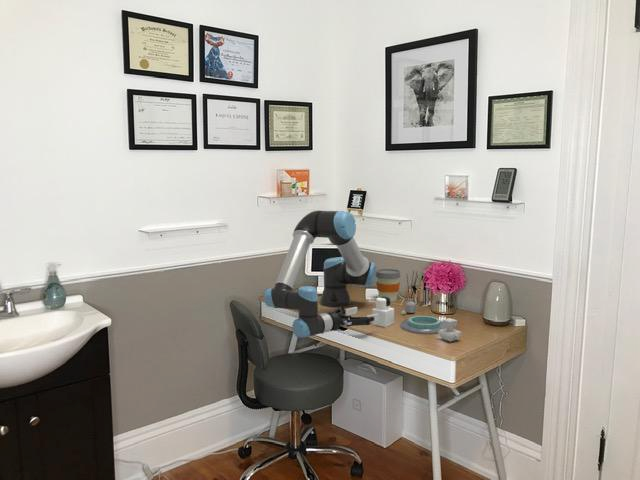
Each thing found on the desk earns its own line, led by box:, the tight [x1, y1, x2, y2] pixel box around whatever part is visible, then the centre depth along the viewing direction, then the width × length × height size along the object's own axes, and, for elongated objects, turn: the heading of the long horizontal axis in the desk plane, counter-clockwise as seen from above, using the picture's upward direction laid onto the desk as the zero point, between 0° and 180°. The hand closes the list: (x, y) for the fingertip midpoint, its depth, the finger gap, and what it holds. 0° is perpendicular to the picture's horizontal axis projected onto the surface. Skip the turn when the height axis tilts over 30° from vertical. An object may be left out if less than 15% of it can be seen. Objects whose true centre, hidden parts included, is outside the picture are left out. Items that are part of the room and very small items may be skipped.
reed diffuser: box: [400, 270, 419, 316], centre depth 252 cm, size 10×7×20 cm
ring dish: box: [400, 315, 447, 335], centre depth 232 cm, size 20×20×3 cm
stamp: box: [437, 317, 463, 342], centre depth 215 cm, size 9×7×8 cm
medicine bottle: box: [371, 296, 395, 328], centre depth 236 cm, size 7×7×12 cm
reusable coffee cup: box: [375, 268, 401, 303], centre depth 279 cm, size 13×13×15 cm
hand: (367, 313), depth 230 cm, fingers open, 13 cm apart
